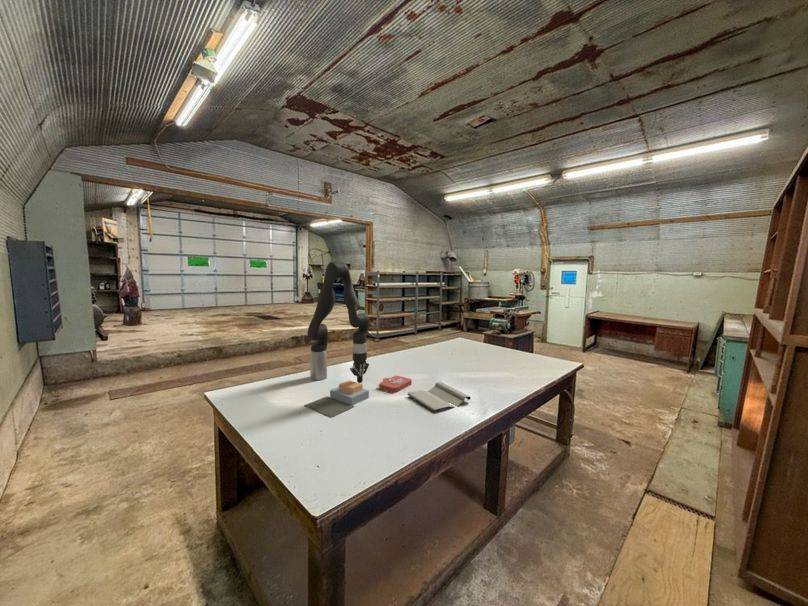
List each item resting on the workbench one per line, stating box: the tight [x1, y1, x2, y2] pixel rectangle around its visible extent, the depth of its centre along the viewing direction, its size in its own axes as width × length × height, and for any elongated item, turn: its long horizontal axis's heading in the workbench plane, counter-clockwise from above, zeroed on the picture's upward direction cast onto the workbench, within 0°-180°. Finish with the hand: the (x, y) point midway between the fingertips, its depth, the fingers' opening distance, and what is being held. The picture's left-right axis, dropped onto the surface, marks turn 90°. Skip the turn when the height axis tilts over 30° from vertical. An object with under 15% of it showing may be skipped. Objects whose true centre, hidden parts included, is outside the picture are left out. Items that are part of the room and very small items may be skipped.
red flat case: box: [378, 375, 413, 394], centre depth 182 cm, size 18×4×15 cm
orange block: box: [338, 380, 364, 394], centre depth 164 cm, size 10×7×3 cm
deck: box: [329, 386, 370, 406], centre depth 163 cm, size 16×12×4 cm
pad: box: [303, 395, 355, 418], centre depth 153 cm, size 20×14×1 cm
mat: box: [406, 381, 471, 413], centre depth 162 cm, size 23×24×5 cm
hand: (359, 382), depth 169 cm, fingers closed
